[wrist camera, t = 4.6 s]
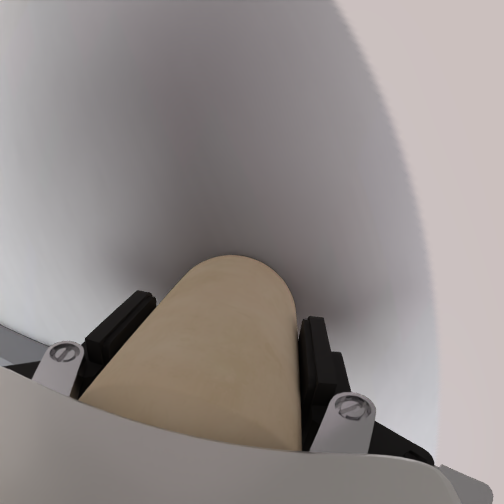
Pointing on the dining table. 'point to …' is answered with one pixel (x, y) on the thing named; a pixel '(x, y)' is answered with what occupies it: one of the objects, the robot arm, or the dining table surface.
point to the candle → (213, 359)
